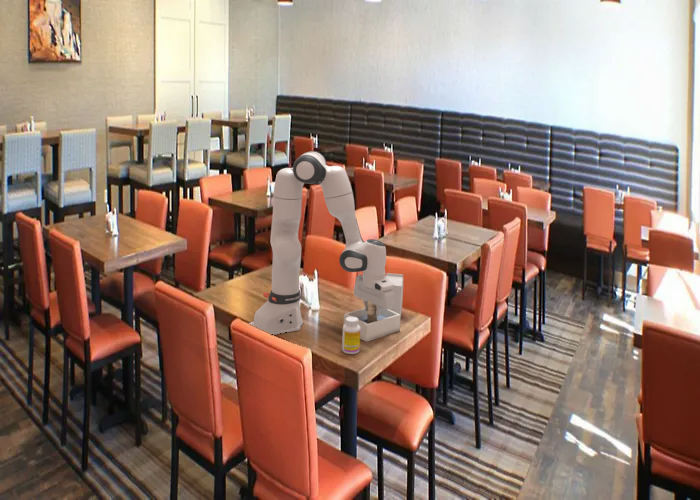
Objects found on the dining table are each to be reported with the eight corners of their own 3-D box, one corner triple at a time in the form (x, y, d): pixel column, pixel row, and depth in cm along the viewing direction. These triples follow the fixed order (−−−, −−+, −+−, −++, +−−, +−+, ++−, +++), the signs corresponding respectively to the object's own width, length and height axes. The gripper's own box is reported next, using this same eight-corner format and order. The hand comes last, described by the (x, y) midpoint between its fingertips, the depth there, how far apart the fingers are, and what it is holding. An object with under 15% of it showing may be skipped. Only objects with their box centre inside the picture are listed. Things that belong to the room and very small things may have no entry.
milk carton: (399, 319, 249) (402, 277, 243) (383, 317, 250) (385, 275, 245) (401, 313, 255) (404, 272, 250) (385, 311, 257) (387, 270, 251)
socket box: (366, 341, 226) (367, 325, 224) (343, 329, 236) (344, 313, 234) (399, 330, 237) (400, 314, 235) (376, 319, 247) (377, 304, 245)
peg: (371, 329, 233) (372, 301, 230) (364, 326, 236) (365, 298, 233) (378, 327, 236) (380, 299, 233) (372, 324, 239) (373, 296, 236)
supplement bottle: (362, 353, 216) (363, 321, 212) (345, 355, 214) (346, 323, 210) (356, 346, 222) (357, 314, 218) (339, 348, 220) (340, 316, 216)
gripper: (350, 274, 236) (349, 306, 240) (385, 288, 221) (383, 322, 225) (362, 272, 240) (361, 303, 244) (397, 285, 225) (395, 319, 229)
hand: (372, 312), depth 234 cm, fingers open, 4 cm apart
